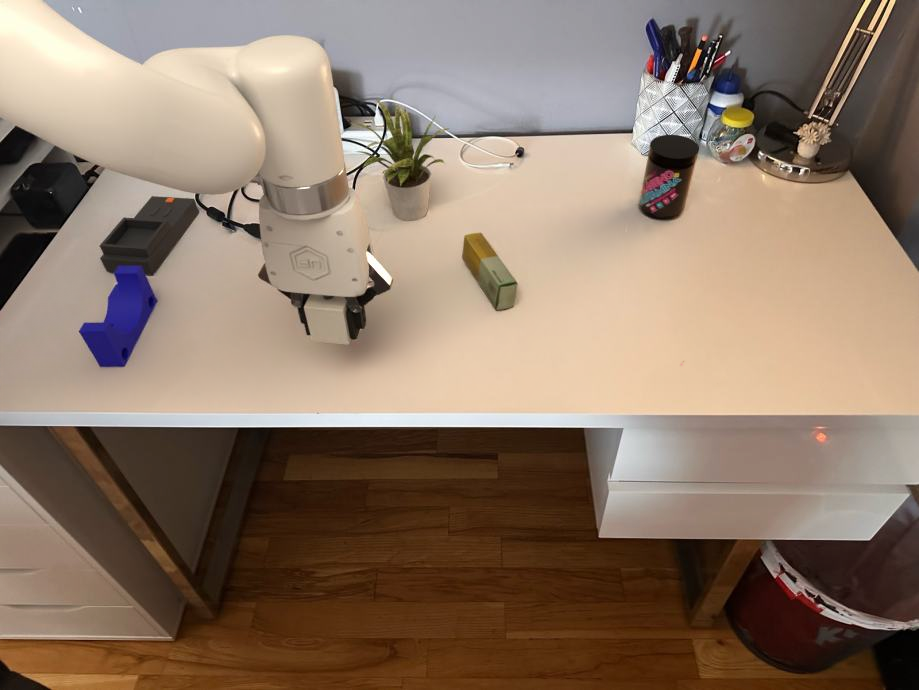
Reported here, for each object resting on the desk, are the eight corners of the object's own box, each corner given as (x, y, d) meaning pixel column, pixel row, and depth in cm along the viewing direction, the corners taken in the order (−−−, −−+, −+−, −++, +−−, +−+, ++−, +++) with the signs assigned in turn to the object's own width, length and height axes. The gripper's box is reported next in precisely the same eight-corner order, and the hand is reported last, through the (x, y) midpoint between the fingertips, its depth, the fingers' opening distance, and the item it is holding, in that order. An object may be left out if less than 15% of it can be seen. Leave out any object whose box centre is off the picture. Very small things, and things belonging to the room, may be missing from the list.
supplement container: (631, 199, 104) (642, 137, 96) (673, 194, 104) (687, 132, 97) (647, 224, 99) (660, 161, 91) (691, 219, 100) (707, 155, 92)
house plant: (340, 204, 105) (322, 104, 93) (414, 174, 110) (405, 76, 99) (390, 248, 97) (377, 144, 85) (466, 213, 102) (464, 111, 91)
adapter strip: (106, 272, 94) (95, 249, 92) (157, 209, 105) (148, 187, 102) (153, 275, 94) (142, 252, 91) (199, 212, 104) (191, 189, 102)
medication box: (515, 307, 87) (519, 283, 84) (496, 311, 86) (500, 287, 83) (478, 253, 95) (481, 230, 92) (460, 257, 94) (462, 233, 91)
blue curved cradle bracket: (124, 301, 90) (106, 266, 86) (157, 301, 90) (141, 265, 86) (87, 366, 82) (65, 331, 77) (124, 366, 81) (104, 331, 77)
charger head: (311, 341, 73) (302, 302, 69) (322, 315, 76) (314, 277, 72) (349, 345, 73) (342, 306, 69) (358, 318, 76) (352, 280, 72)
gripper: (202, 200, 60) (250, 345, 73) (387, 213, 58) (403, 360, 71) (234, 157, 65) (274, 300, 78) (404, 168, 63) (416, 313, 76)
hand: (335, 327), depth 74 cm, fingers closed on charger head, 4 cm apart
